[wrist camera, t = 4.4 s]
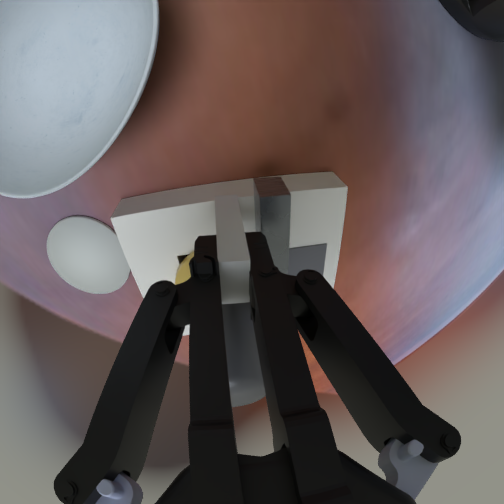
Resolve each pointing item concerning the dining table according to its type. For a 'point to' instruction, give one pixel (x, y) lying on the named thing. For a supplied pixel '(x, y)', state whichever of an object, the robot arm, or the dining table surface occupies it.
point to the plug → (237, 347)
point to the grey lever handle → (274, 217)
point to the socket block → (204, 223)
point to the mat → (87, 255)
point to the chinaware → (68, 85)
